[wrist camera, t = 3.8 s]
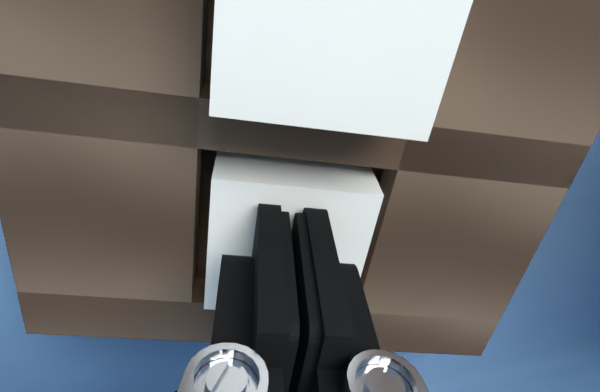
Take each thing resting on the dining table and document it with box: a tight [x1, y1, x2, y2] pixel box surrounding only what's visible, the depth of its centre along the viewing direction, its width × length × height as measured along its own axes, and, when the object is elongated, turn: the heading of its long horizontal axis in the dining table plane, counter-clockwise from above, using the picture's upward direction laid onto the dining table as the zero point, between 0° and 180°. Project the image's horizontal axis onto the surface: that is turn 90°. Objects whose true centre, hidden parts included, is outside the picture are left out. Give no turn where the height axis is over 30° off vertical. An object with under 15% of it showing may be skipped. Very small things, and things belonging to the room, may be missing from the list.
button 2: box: [204, 151, 384, 310], centre depth 12 cm, size 4×4×3 cm
